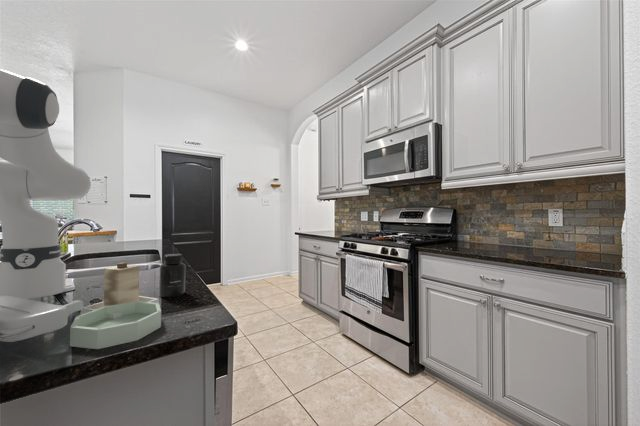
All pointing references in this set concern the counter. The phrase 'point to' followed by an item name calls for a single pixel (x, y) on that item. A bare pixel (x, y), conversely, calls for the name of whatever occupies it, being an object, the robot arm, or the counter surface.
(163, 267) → the supplement bottle
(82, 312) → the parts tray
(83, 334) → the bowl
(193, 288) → the counter surface
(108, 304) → the birch canister
